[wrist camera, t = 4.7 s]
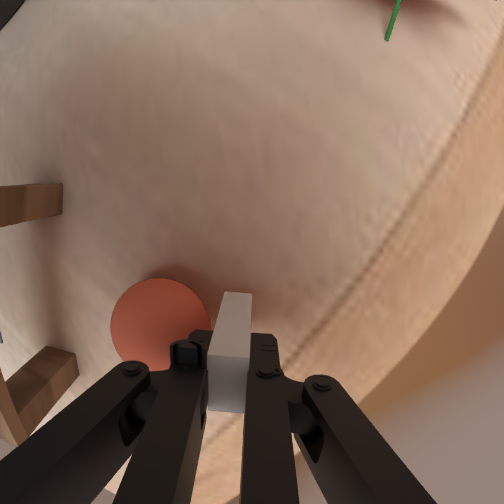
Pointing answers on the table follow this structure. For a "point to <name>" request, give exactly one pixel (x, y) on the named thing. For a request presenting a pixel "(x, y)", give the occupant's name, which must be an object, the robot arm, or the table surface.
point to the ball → (155, 321)
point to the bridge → (48, 359)
